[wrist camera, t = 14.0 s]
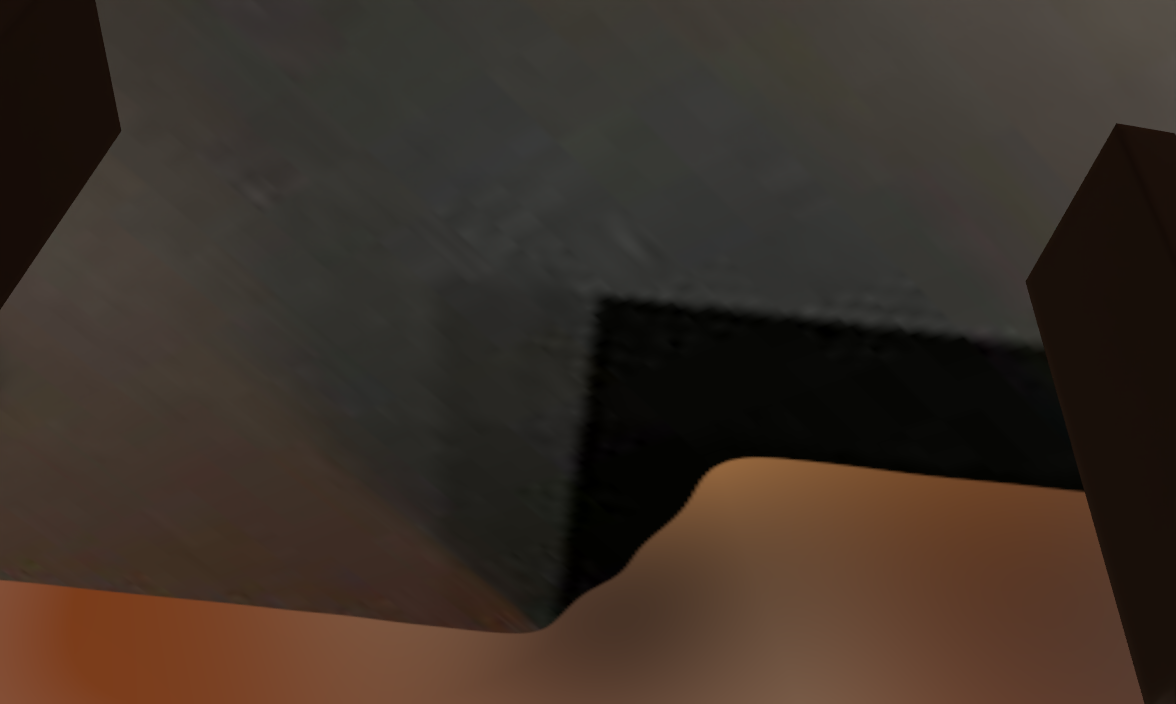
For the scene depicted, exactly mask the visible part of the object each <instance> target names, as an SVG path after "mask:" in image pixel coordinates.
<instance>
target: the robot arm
mask: <svg viewBox="0 0 1176 704" xmlns="http://www.w3.org/2000/svg"><path fill="white" fill-rule="evenodd" d="M120 132H121V127H120V122H119V117H118V112H117V107H116V102H115V97H114V92H113V87H112V82H111V77H110V72H109V67H108V62H107V57H106V52H105V47H104V42H103V37H102V32H101V27H100V22H99V17H98V12H97V7H96V2H95V0H0V309H1V308H2V306H3V305H4V303H5V302H6V300H7V299H8V297H9V296H10V294H11V293H12V291H13V290H14V288H15V287H16V286H17V284H18V283H19V281H20V280H21V278H22V277H23V275H24V274H25V272H26V271H27V269H28V268H29V266H30V265H31V263H32V262H33V260H34V259H35V257H36V256H37V255H38V253H39V252H40V250H41V249H42V247H43V246H44V244H45V243H46V241H47V240H48V238H49V237H50V235H51V234H52V232H53V231H54V229H55V228H56V226H57V225H58V224H59V222H60V221H61V219H62V218H63V216H64V215H65V213H66V212H67V210H68V209H69V207H70V206H71V204H72V203H73V201H74V200H75V198H76V197H77V196H78V194H79V193H80V191H81V190H82V188H83V187H84V185H85V184H86V182H87V181H88V179H89V178H90V176H91V175H92V173H93V172H94V170H95V169H96V167H97V166H98V165H99V163H100V162H101V160H102V159H103V157H104V156H105V154H106V153H107V151H108V150H109V148H110V147H111V145H112V144H113V142H114V141H115V139H116V138H117V136H118V135H119V134H120ZM1026 285H1027V288H1028V292H1029V295H1030V299H1031V303H1032V306H1033V310H1034V313H1035V317H1036V320H1037V324H1038V327H1039V331H1040V335H1041V338H1042V342H1043V345H1044V349H1045V352H1046V356H1047V359H1048V363H1049V366H1050V370H1051V374H1052V377H1053V381H1054V384H1055V388H1056V391H1057V395H1058V398H1059V402H1060V405H1061V409H1062V413H1063V416H1064V420H1065V423H1066V427H1067V430H1068V434H1069V437H1070V441H1071V444H1072V448H1073V452H1074V455H1075V459H1076V462H1077V466H1078V469H1079V473H1080V476H1081V480H1082V483H1083V487H1084V491H1085V494H1086V497H1087V501H1088V505H1089V508H1090V511H1091V515H1092V519H1093V522H1094V526H1095V529H1096V533H1097V537H1098V540H1099V544H1100V547H1101V551H1102V554H1103V558H1104V562H1105V565H1106V569H1107V572H1108V575H1109V579H1110V583H1111V586H1112V590H1113V593H1114V597H1115V600H1116V604H1117V608H1118V611H1119V614H1120V618H1121V622H1122V625H1123V629H1124V632H1125V636H1126V639H1127V643H1128V647H1129V650H1130V654H1131V657H1132V661H1133V664H1134V667H1135V671H1136V675H1137V679H1138V682H1139V686H1140V689H1141V693H1142V696H1143V700H1144V703H1145V704H1176V135H1175V133H1170V132H1164V131H1158V130H1152V129H1146V128H1141V127H1135V126H1129V125H1123V124H1117V123H1116V125H1115V127H1114V129H1113V130H1112V132H1111V134H1110V136H1109V137H1108V139H1107V141H1106V143H1105V144H1104V146H1103V148H1102V149H1101V151H1100V153H1099V155H1098V156H1097V158H1096V160H1095V162H1094V163H1093V165H1092V167H1091V169H1090V170H1089V172H1088V174H1087V176H1086V177H1085V179H1084V181H1083V183H1082V184H1081V186H1080V188H1079V190H1078V191H1077V193H1076V195H1075V196H1074V198H1073V200H1072V202H1071V203H1070V205H1069V207H1068V209H1067V210H1066V212H1065V214H1064V216H1063V217H1062V219H1061V221H1060V223H1059V224H1058V226H1057V228H1056V230H1055V231H1054V233H1053V235H1052V237H1051V238H1050V240H1049V242H1048V244H1047V245H1046V247H1045V249H1044V250H1043V252H1042V254H1041V256H1040V257H1039V259H1038V261H1037V263H1036V264H1035V266H1034V268H1033V270H1032V271H1031V273H1030V275H1029V277H1028V278H1027V280H1026Z"/></svg>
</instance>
